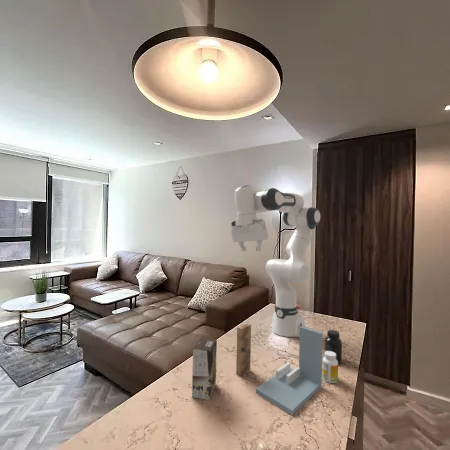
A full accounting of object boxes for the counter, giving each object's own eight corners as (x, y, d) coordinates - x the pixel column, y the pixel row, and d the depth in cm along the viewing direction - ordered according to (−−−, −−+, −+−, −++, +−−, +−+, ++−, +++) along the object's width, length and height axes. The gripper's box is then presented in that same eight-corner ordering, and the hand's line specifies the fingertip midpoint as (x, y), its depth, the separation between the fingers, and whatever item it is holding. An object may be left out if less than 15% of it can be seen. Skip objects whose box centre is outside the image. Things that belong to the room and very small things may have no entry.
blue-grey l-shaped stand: (287, 370, 100) (288, 321, 100) (321, 387, 90) (322, 332, 90) (255, 392, 86) (256, 335, 86) (292, 415, 76) (293, 351, 76)
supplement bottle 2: (338, 377, 96) (339, 352, 96) (336, 385, 91) (337, 358, 91) (323, 373, 99) (324, 348, 99) (321, 380, 94) (321, 354, 94)
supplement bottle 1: (326, 354, 114) (326, 327, 114) (342, 358, 110) (343, 331, 110) (323, 360, 108) (323, 332, 108) (340, 365, 104) (341, 336, 104)
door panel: (246, 368, 101) (247, 323, 101) (252, 371, 99) (253, 325, 99) (236, 374, 97) (237, 327, 97) (242, 377, 94) (243, 330, 95)
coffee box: (210, 400, 82) (211, 351, 82) (191, 397, 83) (192, 348, 83) (216, 383, 91) (217, 338, 91) (199, 381, 92) (200, 336, 92)
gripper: (269, 217, 109) (273, 249, 109) (237, 222, 125) (241, 250, 124) (259, 218, 105) (263, 251, 105) (227, 223, 121) (231, 252, 120)
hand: (251, 250), depth 115 cm, fingers open, 8 cm apart
